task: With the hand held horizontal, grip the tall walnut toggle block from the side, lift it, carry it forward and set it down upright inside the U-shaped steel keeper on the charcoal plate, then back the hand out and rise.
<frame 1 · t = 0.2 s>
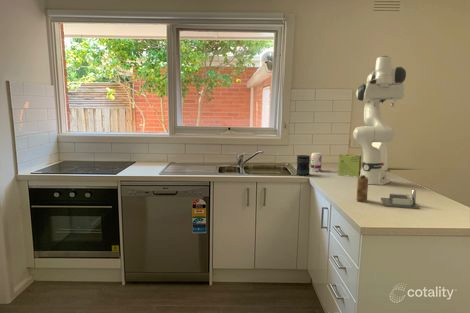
hand: (383, 106, 176), 52 cm above the table, tool tilted 20°, fingers open, 8 cm apart
supplement can: (315, 171, 261), on the table
keeper bracket: (398, 203, 169), on the table
walnut toggle block: (361, 200, 176), on the table
protein box: (349, 175, 245), on the table
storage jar: (302, 175, 246), on the table
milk: (376, 169, 266), on the table
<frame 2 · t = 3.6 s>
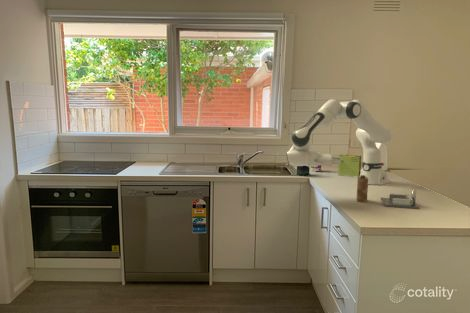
hand: (340, 160, 176), 22 cm above the table, tool horizontal, fingers open, 8 cm apart
nothing on the table moved.
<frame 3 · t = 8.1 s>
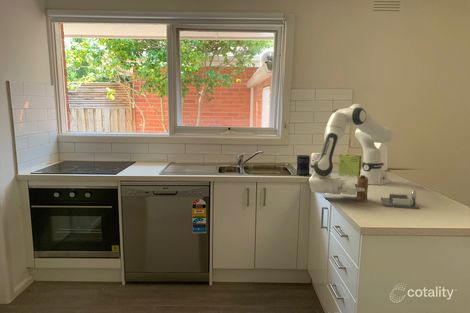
hand: (363, 188, 174), 7 cm above the table, tool horizontal, fingers closed on walnut toggle block, 5 cm apart
walnut toggle block: (361, 200, 176), on the table, touching gripper
everything else where it was.
when the fingers open (9 cm above the table, at t = 14.8 s): walnut toggle block stays where it is, resting on keeper bracket.
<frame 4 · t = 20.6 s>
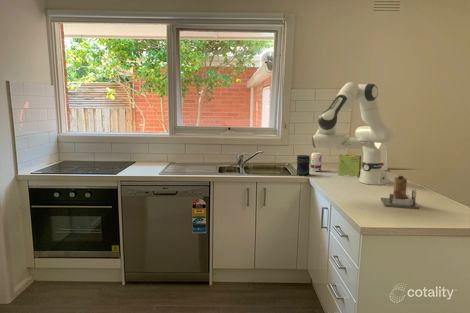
hand: (368, 143, 172), 32 cm above the table, tool horizontal, fingers open, 8 cm apart
walnut toggle block: (398, 202, 169), point 1 cm above the table, touching keeper bracket
everything else where it was.
at the end: walnut toggle block 0.0 cm off-centre on the keeper bracket, point 1.0 cm above the keeper bracket's base; walnut toggle block tilted 0°; the gripper is holding nothing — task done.
